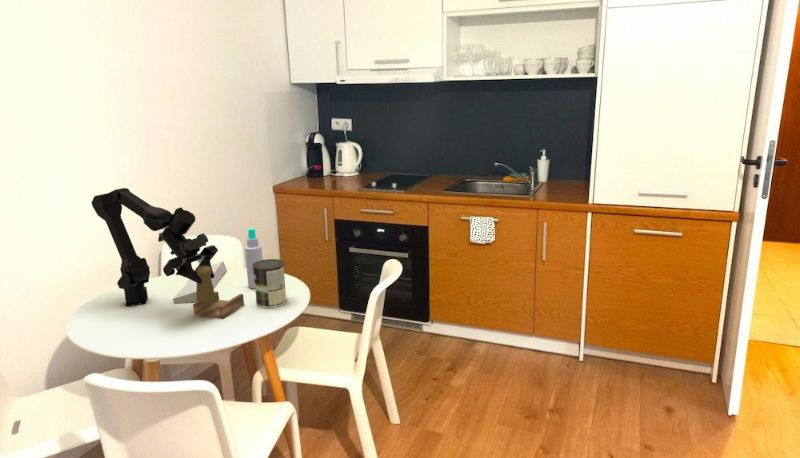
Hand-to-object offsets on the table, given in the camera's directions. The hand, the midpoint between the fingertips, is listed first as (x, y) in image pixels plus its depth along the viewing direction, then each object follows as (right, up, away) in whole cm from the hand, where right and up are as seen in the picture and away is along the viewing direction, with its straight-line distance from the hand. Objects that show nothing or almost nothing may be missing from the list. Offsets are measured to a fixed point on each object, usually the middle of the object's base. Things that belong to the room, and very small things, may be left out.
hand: (207, 280), depth 179 cm
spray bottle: (+8, -5, +31) cm, 32 cm away
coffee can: (+17, -9, +14) cm, 24 cm away
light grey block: (-13, -6, +33) cm, 36 cm away
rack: (+1, -11, +9) cm, 14 cm away
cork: (-1, -6, +2) cm, 7 cm away
